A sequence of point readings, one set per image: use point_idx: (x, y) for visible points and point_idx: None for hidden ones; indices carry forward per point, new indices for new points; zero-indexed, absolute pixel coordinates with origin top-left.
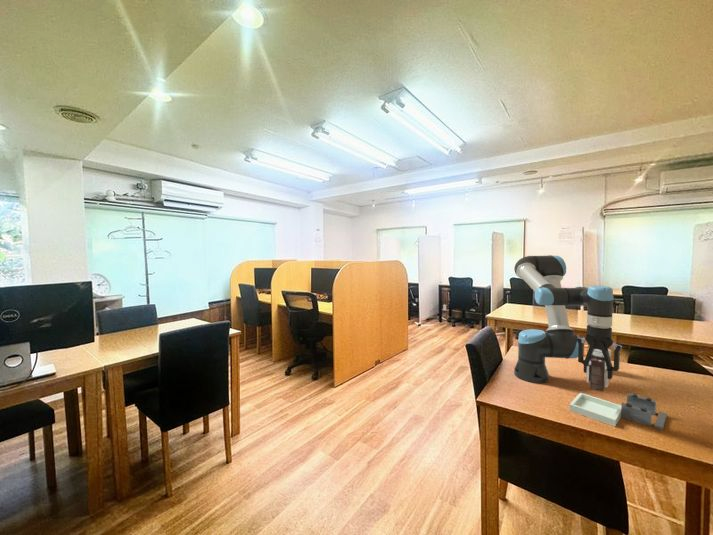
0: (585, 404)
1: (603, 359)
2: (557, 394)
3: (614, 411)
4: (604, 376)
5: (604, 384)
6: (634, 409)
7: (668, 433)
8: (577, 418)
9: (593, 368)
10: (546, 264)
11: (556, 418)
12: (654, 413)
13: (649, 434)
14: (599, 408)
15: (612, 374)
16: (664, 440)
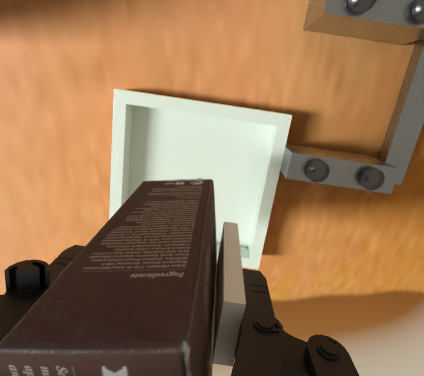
0: (154, 156)
1: None
2: (41, 116)
3: (255, 145)
4: (213, 317)
5: (216, 274)
6: (332, 183)
7: (408, 187)
8: None
9: None
10: None
11: None
12: (405, 43)
13: (347, 235)
14: (204, 157)
15: (269, 296)
16: (382, 245)
